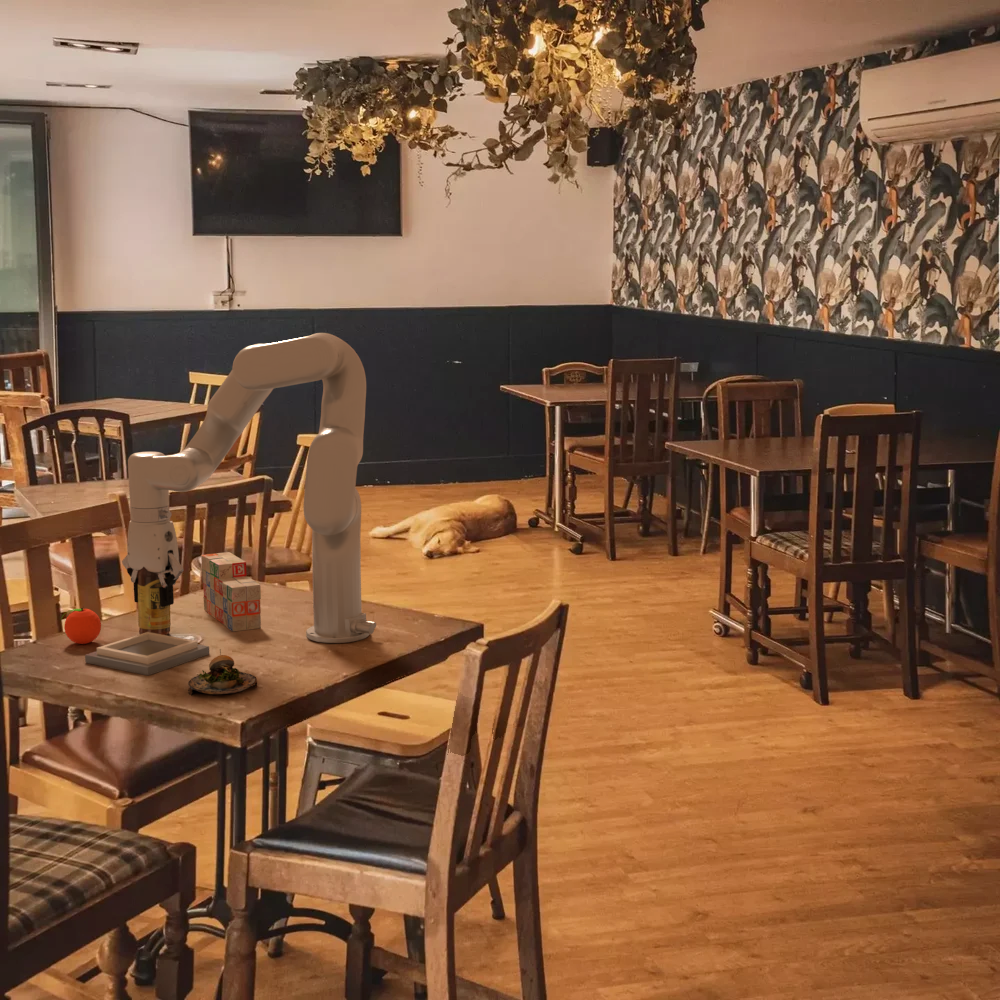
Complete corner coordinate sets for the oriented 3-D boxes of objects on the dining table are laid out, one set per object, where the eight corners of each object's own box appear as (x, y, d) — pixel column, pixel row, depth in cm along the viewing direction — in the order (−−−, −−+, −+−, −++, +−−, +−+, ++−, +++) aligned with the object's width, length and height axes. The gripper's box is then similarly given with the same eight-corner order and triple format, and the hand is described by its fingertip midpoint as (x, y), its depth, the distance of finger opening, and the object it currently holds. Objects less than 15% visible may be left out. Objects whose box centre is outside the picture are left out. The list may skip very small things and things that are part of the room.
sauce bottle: (154, 640, 268) (150, 541, 265) (132, 636, 271) (127, 538, 268) (178, 633, 274) (174, 536, 270) (156, 628, 277) (152, 533, 274)
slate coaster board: (209, 654, 259) (208, 640, 258) (147, 675, 245) (147, 661, 245) (148, 642, 267) (147, 629, 266) (85, 662, 253) (84, 648, 253)
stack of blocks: (262, 628, 277) (260, 569, 275) (232, 632, 274) (229, 573, 272) (231, 606, 296) (229, 550, 294) (203, 609, 293) (201, 553, 291)
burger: (179, 700, 232) (178, 658, 231) (198, 679, 244) (196, 639, 242) (249, 701, 231) (248, 658, 230) (264, 680, 243) (263, 640, 242)
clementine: (53, 647, 264) (51, 611, 262) (69, 637, 270) (67, 603, 269) (93, 648, 263) (91, 613, 261) (107, 639, 269) (106, 604, 268)
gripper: (196, 515, 267) (199, 604, 270) (132, 508, 276) (136, 594, 279) (168, 521, 261) (172, 612, 264) (104, 513, 270) (108, 601, 273)
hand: (154, 602), depth 271 cm, fingers closed on sauce bottle, 6 cm apart
